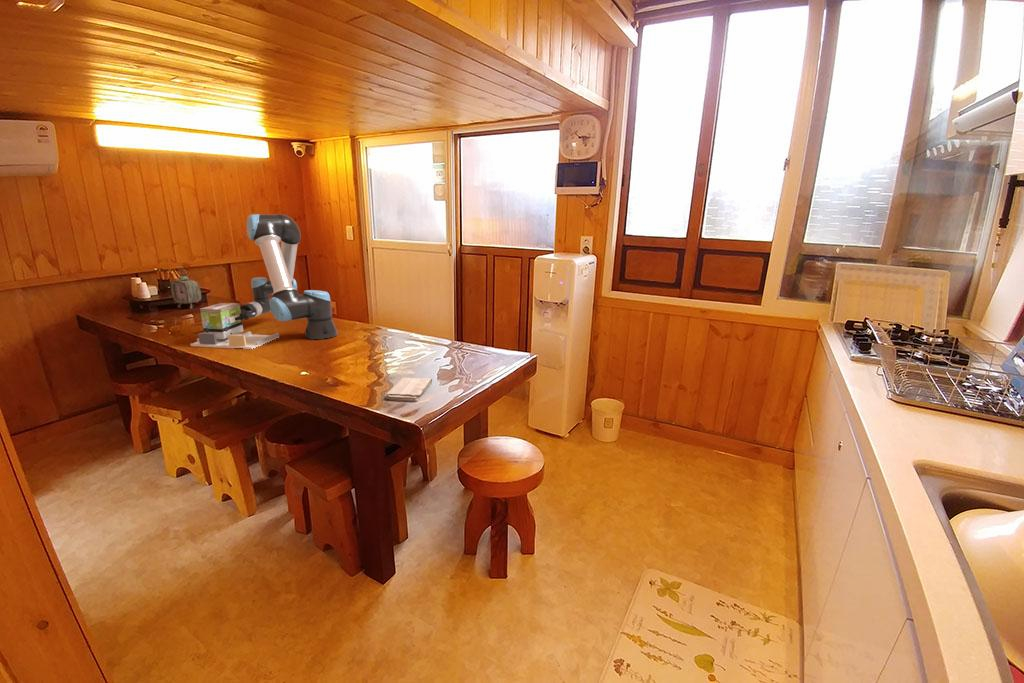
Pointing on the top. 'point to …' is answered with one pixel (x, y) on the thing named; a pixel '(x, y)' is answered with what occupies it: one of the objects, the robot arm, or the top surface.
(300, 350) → the top surface
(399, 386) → the washcloth
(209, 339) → the tag dock
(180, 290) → the tabletop clock
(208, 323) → the tea box
